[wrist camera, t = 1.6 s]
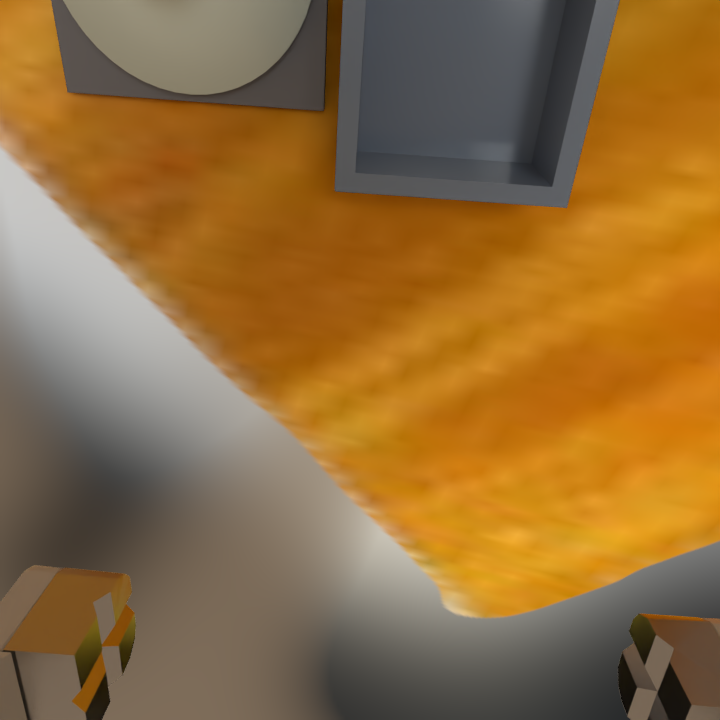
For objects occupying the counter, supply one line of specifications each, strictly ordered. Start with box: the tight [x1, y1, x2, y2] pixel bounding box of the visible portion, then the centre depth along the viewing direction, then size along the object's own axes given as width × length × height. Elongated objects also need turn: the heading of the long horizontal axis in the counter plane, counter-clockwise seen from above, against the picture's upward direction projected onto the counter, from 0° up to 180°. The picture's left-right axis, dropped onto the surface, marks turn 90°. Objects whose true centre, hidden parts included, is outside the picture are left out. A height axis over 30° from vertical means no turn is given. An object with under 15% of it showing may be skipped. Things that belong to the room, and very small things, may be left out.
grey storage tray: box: [335, 0, 620, 208], centre depth 30 cm, size 12×12×6 cm
